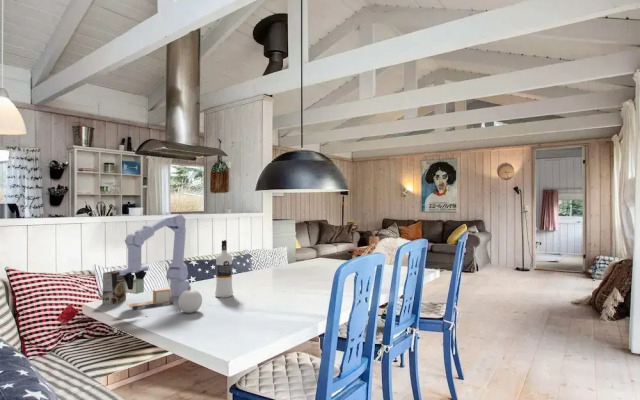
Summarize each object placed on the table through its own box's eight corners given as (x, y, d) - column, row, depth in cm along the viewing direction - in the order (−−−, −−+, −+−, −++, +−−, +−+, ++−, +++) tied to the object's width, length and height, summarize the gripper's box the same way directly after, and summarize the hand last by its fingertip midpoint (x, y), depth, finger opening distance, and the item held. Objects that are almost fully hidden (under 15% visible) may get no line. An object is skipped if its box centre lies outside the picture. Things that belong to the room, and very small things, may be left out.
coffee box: (113, 306, 185) (113, 273, 185) (101, 306, 186) (102, 272, 186) (126, 302, 194) (126, 270, 194) (115, 301, 195) (115, 269, 195)
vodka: (231, 293, 212) (231, 239, 213) (234, 297, 203) (234, 240, 204) (214, 294, 209) (214, 239, 209) (216, 298, 200) (216, 241, 201)
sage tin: (132, 290, 183) (133, 278, 183) (143, 292, 180) (143, 279, 180) (125, 292, 179) (125, 279, 179) (136, 293, 176) (136, 280, 176)
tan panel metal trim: (166, 301, 195) (166, 295, 195) (173, 306, 185) (173, 300, 185) (127, 307, 184) (127, 301, 184) (132, 312, 174) (132, 306, 174)
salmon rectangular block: (152, 302, 189) (153, 289, 189) (167, 299, 193) (167, 287, 193) (155, 303, 185) (155, 291, 186) (170, 301, 190) (170, 289, 190)
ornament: (177, 310, 177) (177, 284, 177) (200, 308, 181) (200, 282, 181) (178, 316, 168) (178, 289, 168) (203, 314, 172) (203, 287, 172)
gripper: (127, 261, 171) (127, 292, 171) (153, 257, 185) (153, 286, 184) (116, 260, 174) (116, 290, 174) (142, 257, 187) (142, 284, 187)
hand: (134, 288), depth 179 cm, fingers closed on sage tin, 4 cm apart
